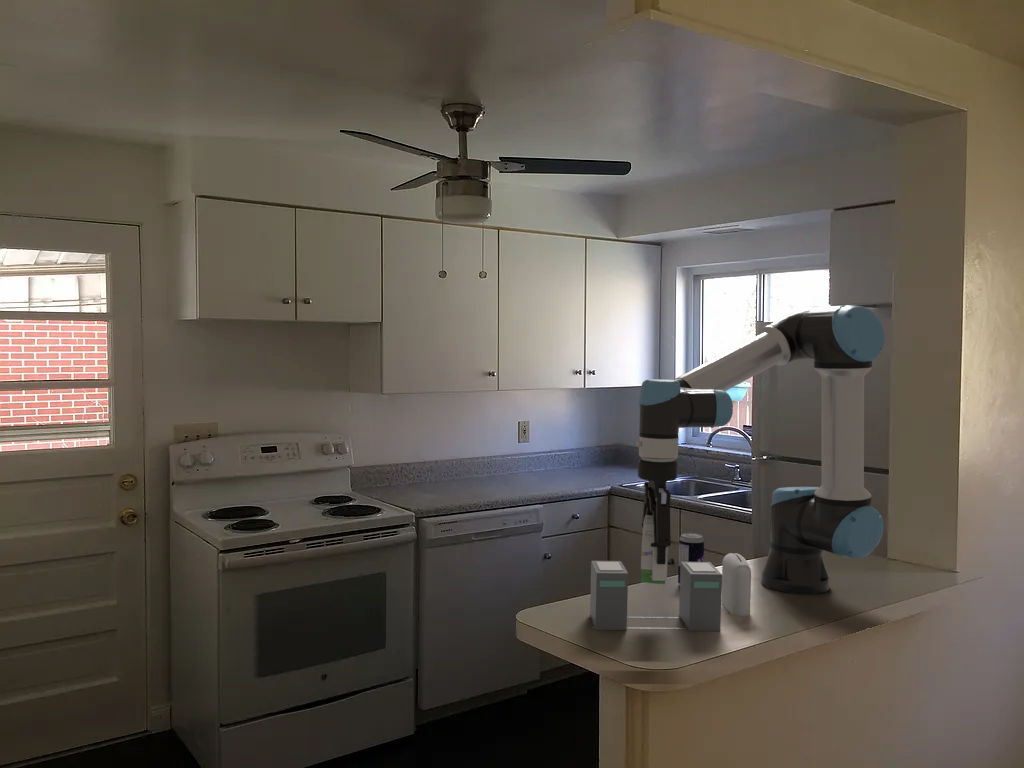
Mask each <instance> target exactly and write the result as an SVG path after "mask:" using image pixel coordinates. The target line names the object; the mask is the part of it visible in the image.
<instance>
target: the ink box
mask: <svg viewBox="0 0 1024 768" xmlns="http://www.w3.org/2000/svg"><path fill="white" fill-rule="evenodd" d="M643 522H644V523H643V528H642V537H641V538H642V539H641V557H640V575H639V577H640V579H639V581H640V583H646V584H658V585H666V581H655V580H652V558H653V547H651V543H654V523H653V515H645V518H644V521H643ZM667 559H668V557H667Z"/></svg>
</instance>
